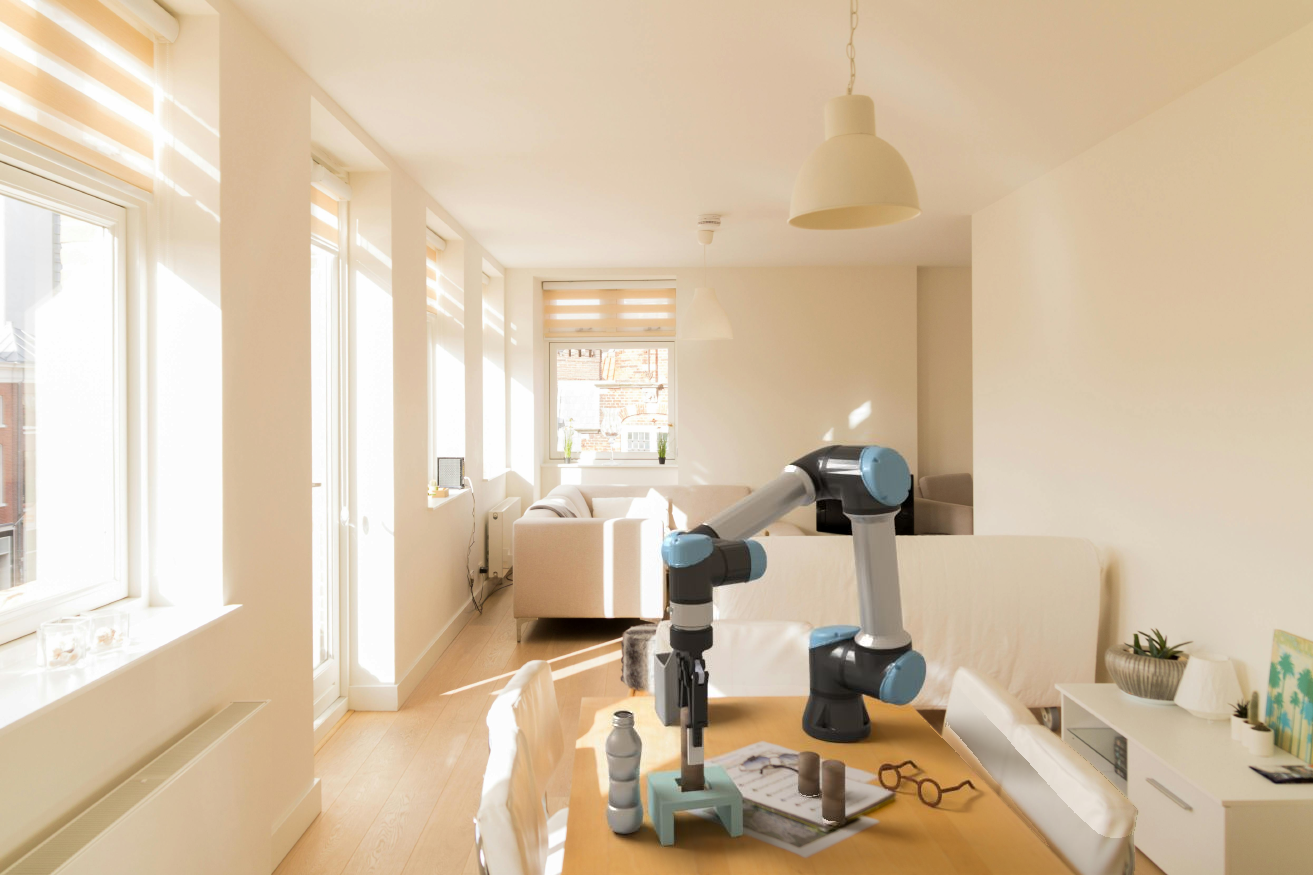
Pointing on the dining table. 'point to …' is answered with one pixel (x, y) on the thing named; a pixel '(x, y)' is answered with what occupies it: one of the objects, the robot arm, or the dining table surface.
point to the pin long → (689, 773)
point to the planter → (666, 687)
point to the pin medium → (833, 791)
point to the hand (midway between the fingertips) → (692, 757)
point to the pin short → (808, 773)
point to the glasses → (899, 777)
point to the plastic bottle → (624, 775)
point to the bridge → (693, 800)
